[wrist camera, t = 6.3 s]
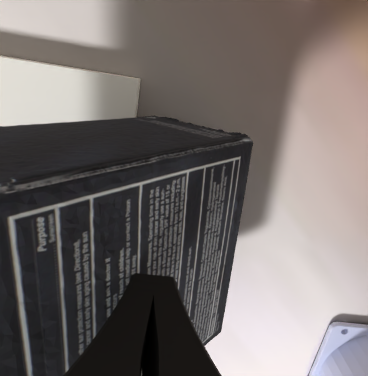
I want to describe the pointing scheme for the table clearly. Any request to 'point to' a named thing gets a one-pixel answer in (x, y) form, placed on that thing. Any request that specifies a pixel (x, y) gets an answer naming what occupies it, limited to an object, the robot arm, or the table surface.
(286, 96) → the table surface
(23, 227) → the small box
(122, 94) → the mat
